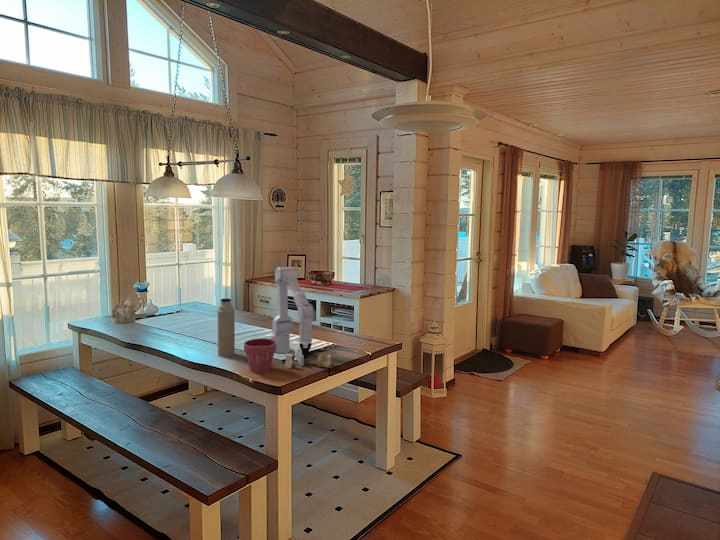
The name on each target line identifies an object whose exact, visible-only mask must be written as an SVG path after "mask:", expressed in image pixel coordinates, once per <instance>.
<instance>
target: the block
mask: <svg viewBox="0 0 720 540" xmlns="http://www.w3.org/2000/svg"><path fill="white" fill-rule="evenodd" d="M331 365H332V354H325V353H321V354H319V355H318V356H317V367H321V368H322V367H324V368H329V367H330V366H331Z"/></svg>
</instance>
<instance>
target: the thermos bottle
mask: <svg viewBox="0 0 720 540" xmlns="http://www.w3.org/2000/svg"><path fill="white" fill-rule="evenodd" d="M235 317H236V316H235V309H234V305H233V304H232V298H228V297H227V298H221V299H220V304H219V306H218V310H217V356H218V357H222V358H228V357H234V356H235V350H236V349H235V347H236V345H235V344H236V343H235V341H236V340H235V331H236V330H235V329H236V328H235V327H236V326H235V324H236V322H235V321H236V319H235Z"/></svg>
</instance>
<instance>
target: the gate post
mask: <svg viewBox="0 0 720 540" xmlns="http://www.w3.org/2000/svg"><path fill="white" fill-rule="evenodd" d="M294 351H295V355H294V358H293V360H294V361H297V351H300V352H301V348H300V347H299V348H295V349H294Z"/></svg>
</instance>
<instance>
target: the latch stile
mask: <svg viewBox="0 0 720 540" xmlns="http://www.w3.org/2000/svg"><path fill="white" fill-rule="evenodd" d="M292 367H293V354H292V353H285V368H288V369H291V368H292Z"/></svg>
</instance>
